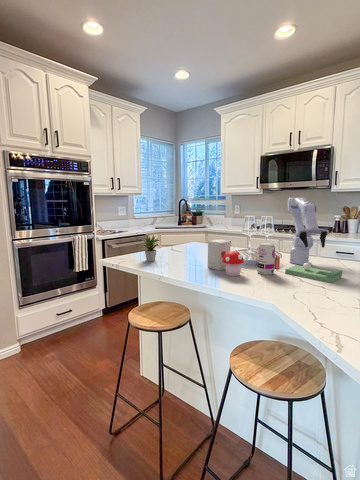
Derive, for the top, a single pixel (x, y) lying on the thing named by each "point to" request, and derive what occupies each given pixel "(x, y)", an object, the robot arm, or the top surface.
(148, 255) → the house plant
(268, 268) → the supplement can
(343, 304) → the top surface
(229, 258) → the mushroom
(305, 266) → the ball
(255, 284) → the top surface
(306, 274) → the green holed board
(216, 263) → the supplement box
